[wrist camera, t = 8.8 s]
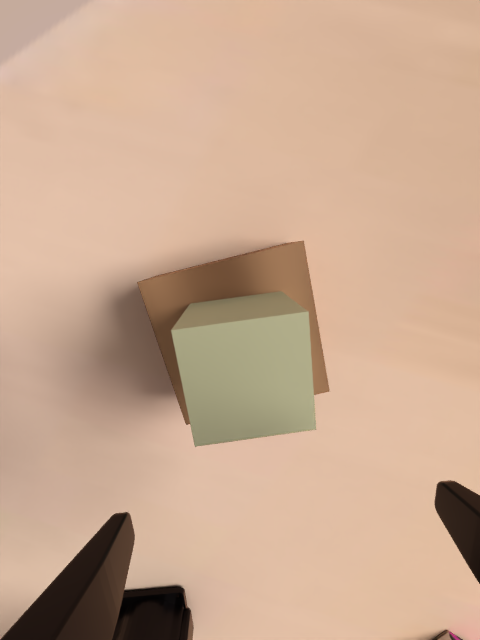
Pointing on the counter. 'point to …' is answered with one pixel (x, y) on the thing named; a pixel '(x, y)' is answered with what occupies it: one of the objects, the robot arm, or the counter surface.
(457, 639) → the candy bar box
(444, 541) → the counter surface
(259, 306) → the green cube
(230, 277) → the walnut block
